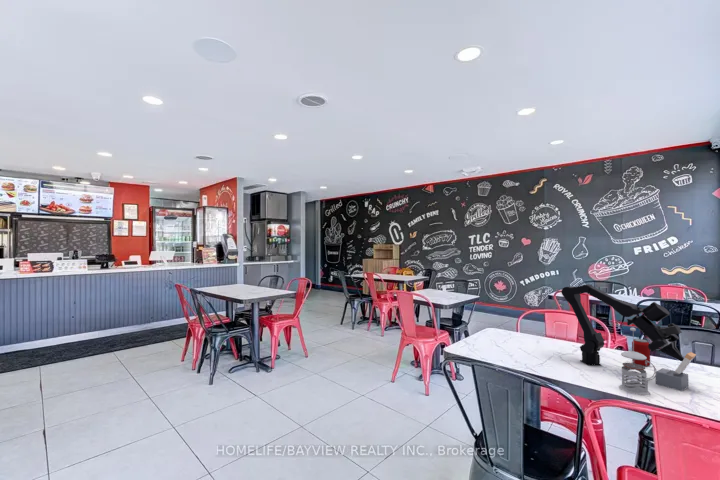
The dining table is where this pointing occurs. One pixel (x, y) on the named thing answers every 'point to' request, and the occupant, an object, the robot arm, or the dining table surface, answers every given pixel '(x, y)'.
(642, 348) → the beverage can
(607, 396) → the dining table surface
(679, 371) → the lever
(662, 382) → the switch box
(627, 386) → the french press
